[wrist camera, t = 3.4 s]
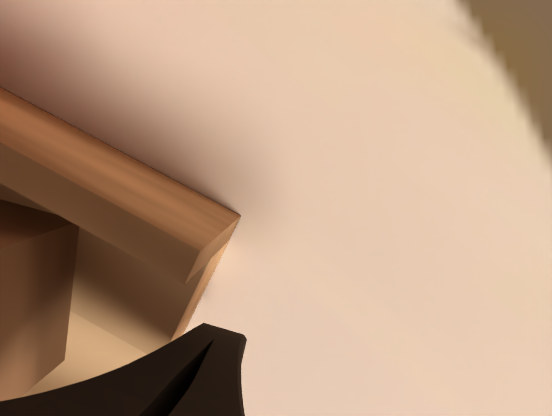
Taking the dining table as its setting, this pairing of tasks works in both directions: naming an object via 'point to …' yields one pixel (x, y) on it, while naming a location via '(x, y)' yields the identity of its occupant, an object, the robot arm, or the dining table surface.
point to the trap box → (112, 239)
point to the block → (33, 294)
